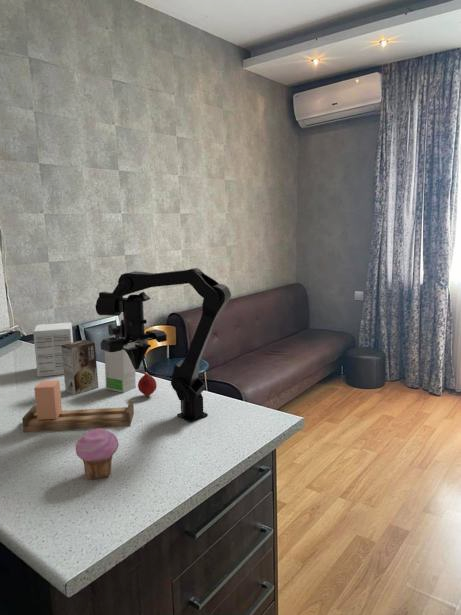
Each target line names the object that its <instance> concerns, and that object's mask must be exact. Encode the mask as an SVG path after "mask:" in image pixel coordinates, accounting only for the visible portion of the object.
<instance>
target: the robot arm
mask: <svg viewBox="0 0 461 615" xmlns="http://www.w3.org/2000/svg"><path fill="white" fill-rule="evenodd" d="M185 284H187V285H188V284H189V285H191V287H192V288H193V289H194V290H195V292H196V293H197V294H198V295H199V296H200V297H202V298H203V300H202V304H201V306H202V307H201V308H202V309H201V317H200V320H199V322H198V324H197V327H196V329H195V332H194V334H193V338H192V339H191V342H190V345H189V347H188V350H187V353H186V355H185V357H184V359H181V360H180V361H178V362H177V363H176V364H174V367H173V371H172V374H171V375H170V376H169V378H170V379H171V380H170V385H171V388H172V389H173V390H174V391H175V393H176V396H177V398H178V400H179V401H180V412H179V413H177V414H176V416H177V417H178V418H181V419H183V420H186V421H188V422H190V423H192V422H195V421H197V420H200V419H202V418H205V417H207V416H208V415H209V414H208V412H205V411H204V397H203V395H202V393H203V392H204V391H205V388H206V383H205V382H204V381H203V380H202V379H201V378H200V377H199V373H200V363H201V359H202V357H203V354H204V352H205V350H206V348H207V344H208V342H209V339H210V336H211V334H212V332H213V329H214V327H215V324H216V322H217V319H218V318H219V316H220V315H221V314H222V312H223V310H224V309H225V308H226V306H227V304H228V303H229V301H230V300H231V298H232V297H231V296H232V293H231V290H230V288H229V287H228V286H227V285H225V284H222V283H219V282H218V281H217V280H215V279H214V278H212V277H211V276H209V275H208V274H206V273H204V272H203V271H202V270H201V269H200V268H197V267H194V268H190V269H184V270H183V269H182V270H174V271H173V270H172V271H165V272H155V273H151V272H147V271H128V272H126V273H122V274H121V275H120V276H119V277H118V280H117V285H116V286H115V288H114V290H113V291H112V292H109V291H101V292H99V293H98V298H96V303H95V310H96V314H97V315H98V316H111V317H112V316H113V317H114V316H115V317H119V316H120V315H121V314H122V316H123V319H121V320H120V325H117V324H116V323H110V324H108V325H107V331H108V335H109V336H110V337H108V338H103V339H101V341H100V349H101V351H102V350H103V351H104V352H105V351H108V352H117V351H121V350H122V349H123V350H125V351H126V353H127V354H128V356H129V358H130V360H131V363H132V365H133V367H134V369H135V371H137V370H139V368H140V366H141V365H142V361H143V359H144V357H145V355H146V353H147V351H148V349H149V348H151V344H149V341H152V340H156V342H158V343H163V342H167V341H168V335H167V333H166V332H165V331H164V330H160V329H157V328H156V329H151V330H146V332H145V324H147V319H145V316H144V313H145V312H144V302H146V301H150V300H151V297H150V296H149V295H148V294H146V293H145V291H144V290H146V289H150V288H158V287H165V286H177V285H185ZM141 291H142V292H141ZM137 292H140V293H139V294H133V293H137ZM127 295H128V297H125V296H127ZM111 336H114V337H111Z"/></svg>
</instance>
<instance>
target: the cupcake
mask: <svg viewBox="0 0 461 615" xmlns="http://www.w3.org/2000/svg"><path fill="white" fill-rule="evenodd" d="M118 449H119V440H118V437H117V436H116V434H114V432H111V431H110V430H108V429H106V428H105V429H104V428H92V429H90V430H88V431H86V432H85V433H84V434H83V435H82V436H81V437H80V438H79V439H78V440H77V442H76V444H75V454H76V456H77V457H78V458H79V459H81V460H82V462H83V466H84V468H83V469H84V475H85V477H86V478H87V479H89V480H95V479H99V478H101V479H102V478H108V477H110V475H111V472H112V461H113V460H112V459H113V456H114V454H116V452H117V450H118Z"/></svg>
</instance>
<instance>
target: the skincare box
mask: <svg viewBox="0 0 461 615" xmlns="http://www.w3.org/2000/svg"><path fill="white" fill-rule="evenodd" d="M104 369H105V389H106V390H110V391H114V392H118V393H119V392H120V393H125V394H126V393H127V392H128V391H131V390H133V389H134V388H135V389H136V384H137V381H136V379H137V378H136V370H135V369H134V367H133V365H132V363H131V360H130V358H129V356H128V354H127V353H126V351H125V350H123V349H122V350H121V351H117V352H108V351H105V350H104Z"/></svg>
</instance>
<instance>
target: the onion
mask: <svg viewBox="0 0 461 615" xmlns="http://www.w3.org/2000/svg"><path fill="white" fill-rule="evenodd" d="M137 383H138V384H137V388H138V391H139V392H140V393H142V394H143V395H144V396H145V397H149V396H151V395H152V394H153V393H155V391H156V390H157V386H158V385H157V381H156V380H155V378H154V377H153V376H152V375H150V374H149V373H148V372H144V375H142V377H141V378H139V381H137Z"/></svg>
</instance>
